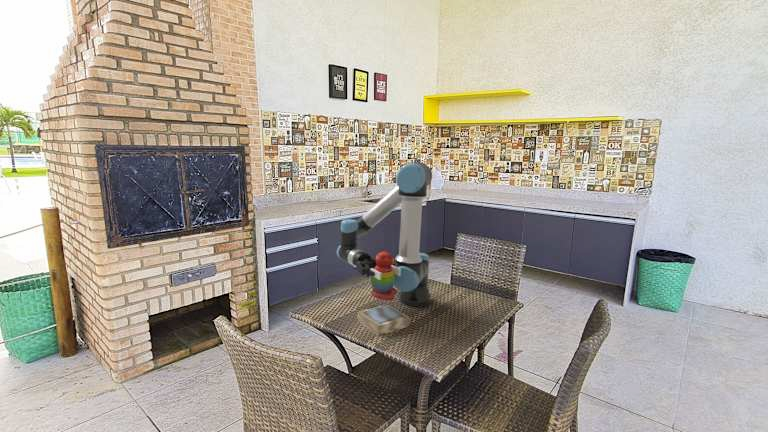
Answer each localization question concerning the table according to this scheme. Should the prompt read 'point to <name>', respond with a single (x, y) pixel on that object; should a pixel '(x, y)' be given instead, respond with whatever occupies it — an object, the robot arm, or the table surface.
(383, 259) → the stacking bear
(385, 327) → the plinth
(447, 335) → the table surface
